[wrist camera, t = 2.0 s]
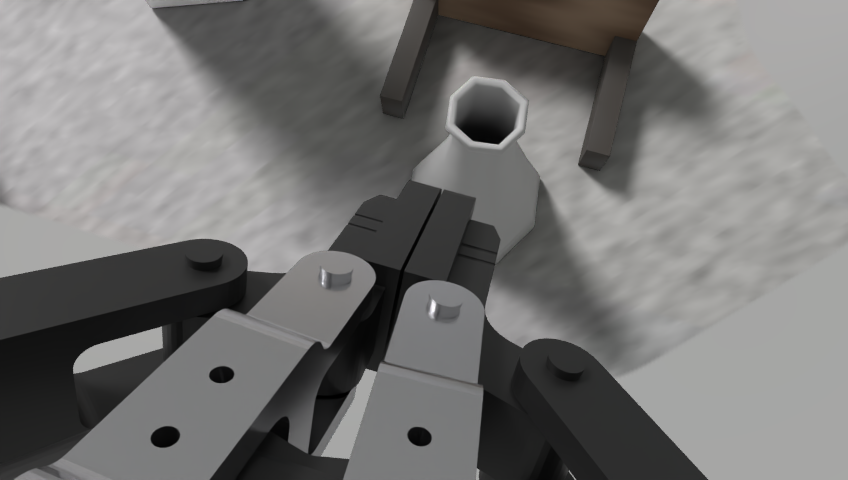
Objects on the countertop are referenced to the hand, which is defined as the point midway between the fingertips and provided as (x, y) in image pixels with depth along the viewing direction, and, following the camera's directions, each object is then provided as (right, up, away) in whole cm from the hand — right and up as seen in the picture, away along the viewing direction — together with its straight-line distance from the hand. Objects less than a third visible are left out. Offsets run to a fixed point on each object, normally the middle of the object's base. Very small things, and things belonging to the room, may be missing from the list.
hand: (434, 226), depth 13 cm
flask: (+2, +2, +20) cm, 20 cm away
